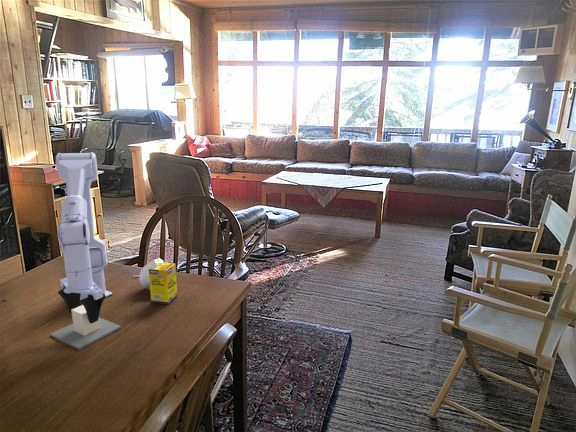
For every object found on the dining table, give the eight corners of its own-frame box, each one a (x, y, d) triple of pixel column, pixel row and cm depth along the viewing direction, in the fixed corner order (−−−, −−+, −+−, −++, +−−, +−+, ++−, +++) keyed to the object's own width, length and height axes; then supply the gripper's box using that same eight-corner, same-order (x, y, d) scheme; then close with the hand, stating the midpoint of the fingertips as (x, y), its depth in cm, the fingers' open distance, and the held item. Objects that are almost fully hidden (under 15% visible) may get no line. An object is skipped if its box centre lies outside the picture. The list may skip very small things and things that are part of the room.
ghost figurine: (169, 293, 131) (167, 264, 128) (138, 295, 129) (135, 265, 127) (172, 282, 139) (170, 254, 137) (143, 283, 138) (140, 255, 135)
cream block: (74, 330, 108) (71, 309, 106) (90, 323, 112) (87, 302, 110) (84, 335, 106) (81, 314, 104) (100, 328, 109) (98, 307, 108)
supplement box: (169, 305, 124) (166, 270, 121) (150, 302, 125) (147, 268, 122) (178, 296, 129) (176, 263, 126) (160, 294, 130) (157, 261, 128)
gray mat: (50, 336, 106) (50, 333, 106) (92, 316, 116) (92, 314, 116) (79, 350, 101) (79, 347, 100) (121, 328, 111) (121, 326, 110)
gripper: (45, 267, 104) (53, 316, 108) (81, 280, 97) (88, 332, 101) (72, 258, 110) (78, 305, 114) (108, 270, 103) (113, 320, 106)
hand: (84, 317), depth 107 cm, fingers open, 7 cm apart
